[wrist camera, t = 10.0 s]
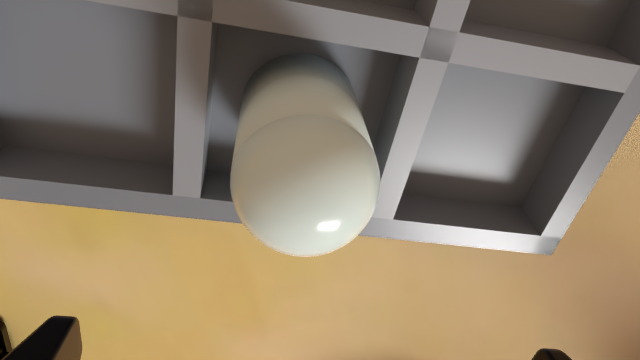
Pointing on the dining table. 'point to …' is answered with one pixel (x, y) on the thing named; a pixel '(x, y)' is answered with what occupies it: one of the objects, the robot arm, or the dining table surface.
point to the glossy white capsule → (303, 158)
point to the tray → (370, 89)
